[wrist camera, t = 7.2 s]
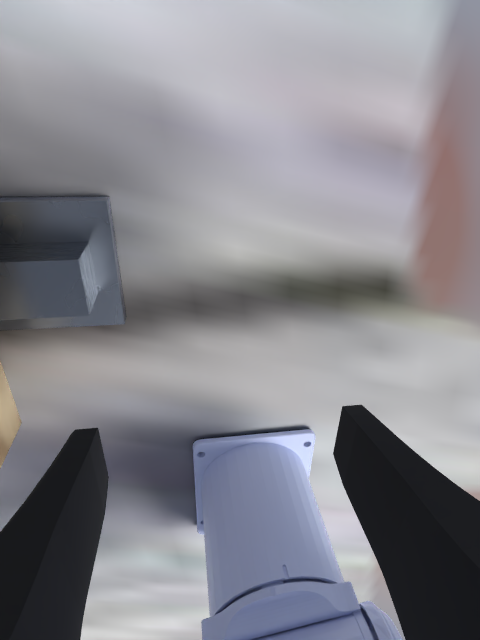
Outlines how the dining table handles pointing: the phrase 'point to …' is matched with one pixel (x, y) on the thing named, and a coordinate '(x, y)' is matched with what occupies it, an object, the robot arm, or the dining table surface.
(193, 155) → the dining table surface
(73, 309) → the ridge
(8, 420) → the bar
